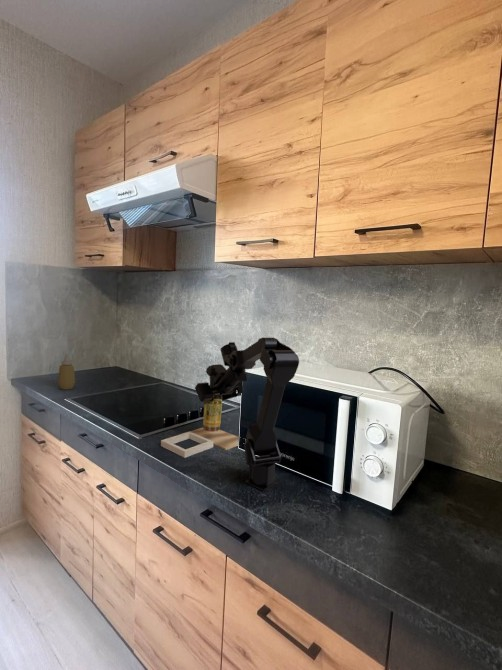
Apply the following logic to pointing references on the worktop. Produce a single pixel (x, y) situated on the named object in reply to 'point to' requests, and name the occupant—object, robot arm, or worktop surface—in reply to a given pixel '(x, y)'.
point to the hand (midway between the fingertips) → (211, 401)
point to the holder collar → (184, 453)
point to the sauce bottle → (212, 411)
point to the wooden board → (218, 438)
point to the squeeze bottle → (66, 374)
